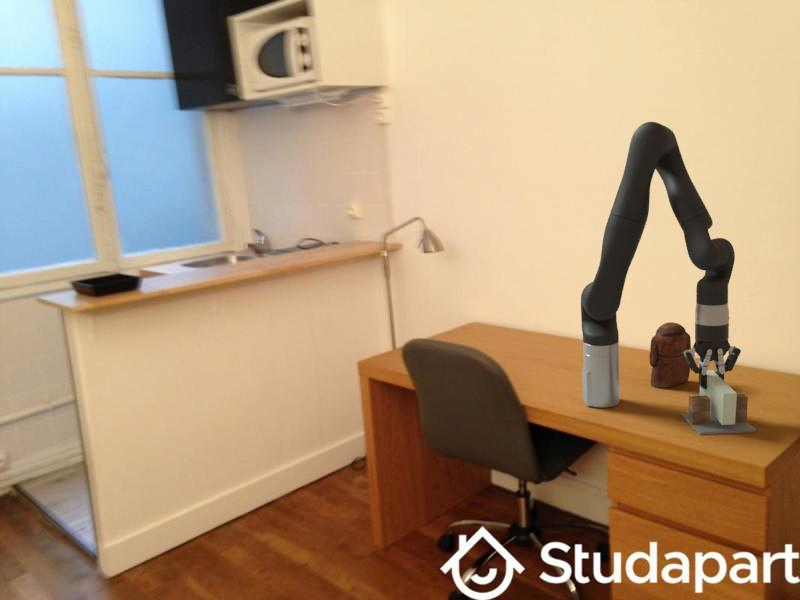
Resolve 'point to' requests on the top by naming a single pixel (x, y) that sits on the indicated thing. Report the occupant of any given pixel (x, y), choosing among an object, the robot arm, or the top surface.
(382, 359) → the top surface
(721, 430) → the charcoal base board
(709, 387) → the pale green upright slab
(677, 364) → the wooden figurine
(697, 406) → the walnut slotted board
